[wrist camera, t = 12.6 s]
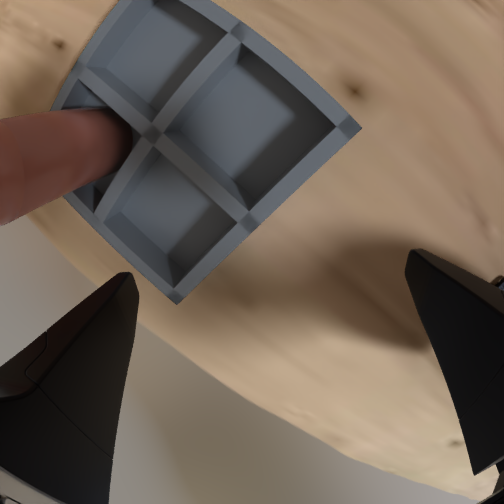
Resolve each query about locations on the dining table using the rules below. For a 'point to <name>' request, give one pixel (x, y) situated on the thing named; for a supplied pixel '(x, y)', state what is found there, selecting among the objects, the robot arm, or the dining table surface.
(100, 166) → the pink dome-topped cylinder
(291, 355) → the dining table surface
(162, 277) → the gray compartment tray
